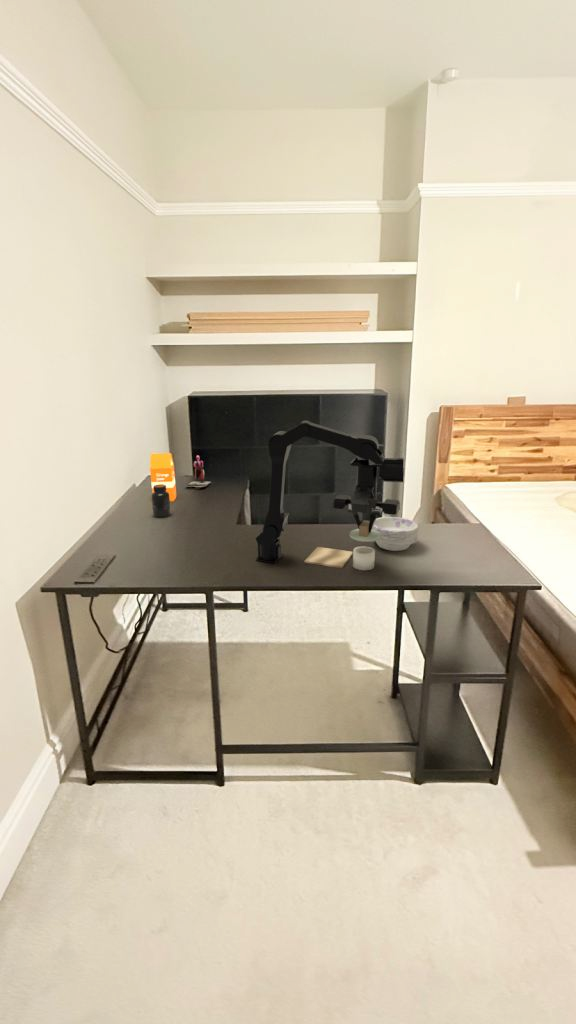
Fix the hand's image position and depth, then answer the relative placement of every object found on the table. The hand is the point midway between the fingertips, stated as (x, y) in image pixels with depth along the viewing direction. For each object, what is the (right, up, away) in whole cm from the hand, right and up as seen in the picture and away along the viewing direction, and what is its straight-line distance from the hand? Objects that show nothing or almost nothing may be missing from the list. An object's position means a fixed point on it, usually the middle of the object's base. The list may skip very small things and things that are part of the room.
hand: (365, 531), depth 155 cm
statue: (-65, +17, +91) cm, 113 cm away
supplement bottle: (-72, +4, +52) cm, 89 cm away
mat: (-10, -9, +9) cm, 16 cm away
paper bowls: (+12, -6, +18) cm, 23 cm away
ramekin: (0, -10, +3) cm, 11 cm away
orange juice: (-76, +11, +73) cm, 106 cm away
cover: (0, -1, 0) cm, 1 cm away
